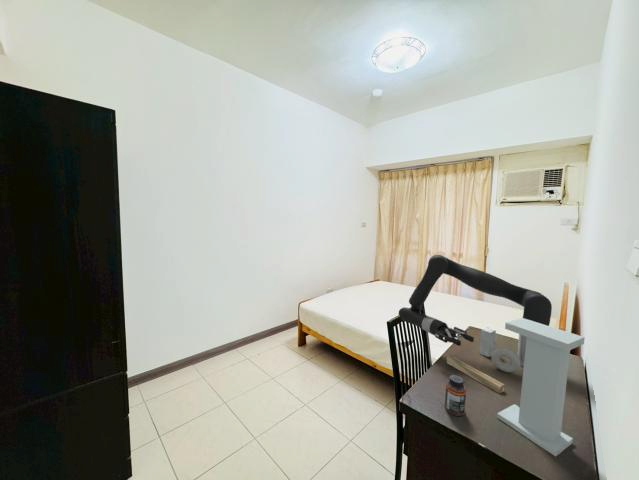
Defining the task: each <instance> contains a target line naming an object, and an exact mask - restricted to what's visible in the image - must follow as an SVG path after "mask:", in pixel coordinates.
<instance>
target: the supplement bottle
mask: <svg viewBox="0 0 639 480" xmlns="http://www.w3.org/2000/svg"><path fill="white" fill-rule="evenodd" d="M466 396H467V388H466V386H465V384H464V379H463V378H462V377H461V376H459V375H455V374H452V375H449V379H448V381H447V382H446V384H445V399H444V408H445V410H446V411H447V412H448V413H449V414H450V415H452V416H455V417H461V416H463V415H465V413H466V411H465V409H466V401H467V397H466Z"/></svg>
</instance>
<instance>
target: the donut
mask: <svg viewBox="0 0 639 480" xmlns="http://www.w3.org/2000/svg"><path fill="white" fill-rule="evenodd" d="M503 357H505V358H507V359H509V363H505V362H504V361H502V358H503ZM490 358H491V361H492V363H493V365H494V366H495V368H497V369H498V370H500V371H503V372H505V373H515V372H517V371H518V370H519V369H520V367H521V365H520V360H519V358H518V356H517V354H516V353H515V352H514V351H512V350H511V349H508V348H502V347H501V348H496V349H495V350H494V351H493V353H492V355H491V356H490Z"/></svg>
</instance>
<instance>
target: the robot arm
mask: <svg viewBox="0 0 639 480" xmlns="http://www.w3.org/2000/svg"><path fill="white" fill-rule="evenodd" d="M442 275H446V276H450V277H453V278H454V279H456V280H458V281H460V282H461V283H463V284H464V285H466V286H468V287H470V288H472V289H474V290H476V291H479V292H480V293H481V292H482V293H484V294H486V295H489V296H495V297H499V298H504V299H506V300H509V301H511V302H514V303H516V304H517V305H519V306H521V307H523V312H522V313H523V315H522V318H524V319H528V320H531V321H534V322H537V323H540V324H544V325H547V326H550V323H551V319H552V309H553V308H552V307H553V306H552V302H551V301H550V299H549V298H548V297H547V296H545V295H544V294H542V293H540V292H538V291H535V290H531V289H528V288H526V287H522V286H518V285H515V284H512V283H510V282H509V281H506V280H504V279H502V278H500V277H497V276H496V275H493V274H491V273H487V272H485V271H482V270H479V269H477V268H473V267H471V266H467V265H463V264H461V263H458V262H455V261H453V260H451V259H450V258H448V257H446V256H444V255H441V254H435V255H432V256H431V257H429V260H428V262H427V266H426V270H425V272H424V274H423V276H422V278H421V280H420V282H419V283H418V285H417V286H416V287H415V289H414V291H413V292H412V294H411V295H410V297H409V299H408V304H409V305H410V307H401V308H400V309H399V310H398V316H399V315H400V316H401V318H400V320H401V321H403V322H405V323H408V324H410V325H413V326H416V327H418V328H419V329H421V330H424V331H425V332H427V334H431V335H433V336H434V337H435V338H437V340H440V341H441V342H443V343H446V344H447V343H451V344H454V345H456V346H459V347H461V346H462V341H461V339H464V340H466V341H468V342H470V343H474V341H475V340H474V339H475V337H474V336H472V335H469V334H468V331H466V330H464V329H462V328H459V327H456V326H453V328H452V327H449V326H448V324H447V323H446V322H444V321H441V320H440V319H437V318H436V317H432V316H429V315H427V314H424V313H421V312H422V307H423V305H424V304H425V302H426V300H427V298H428V297H429V296H430V295H429V294H430V293H431V291H432V289H433V287H434V285H435V284H436V283H437V282H438V281H439V279H440V278H441V277H442ZM459 339H460V340H459ZM526 339H527V337H526V336H524V335H521V334H518V341H517V342H518V344H517V352H516V353H517V354H516V355H517V356H518V358H519V360H520V367H523V368H524V359H525V349H526Z"/></svg>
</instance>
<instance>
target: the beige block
mask: <svg viewBox="0 0 639 480" xmlns="http://www.w3.org/2000/svg"><path fill="white" fill-rule="evenodd" d="M446 364H447V365H450V366H451V367H453V368H454V369H457V370H458V371H459V372H462V373H464V374H465V375H467V376H469V377H470V378H472V379H473V380H475V381H477V382H479V383H481V384H482V385H484V386H486V387H488V388H489V389H491V390H493V391H495V392H496V393H498V394H501V393H503V392H505V383H502V382H501V381H499V380H497V379H495V378H493V377H492V376H489V375H488V374H486V373H484V372H482V371H481V370H478V369H476V368H475V367H473V366H472V365H469V364H467V363H466V362H464V361H462V360H460V359H458V358H456V357H454V356H452V355H450V356H447V357H446Z"/></svg>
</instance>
